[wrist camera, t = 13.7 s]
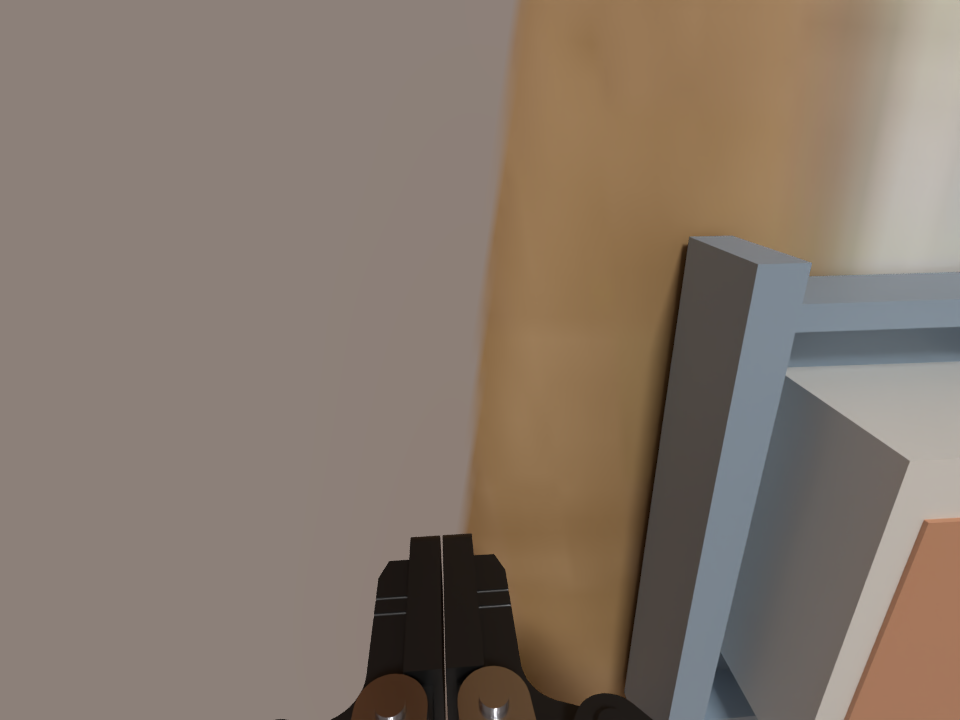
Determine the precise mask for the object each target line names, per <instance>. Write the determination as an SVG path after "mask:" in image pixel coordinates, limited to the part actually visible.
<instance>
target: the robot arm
mask: <svg viewBox="0 0 960 720" xmlns="http://www.w3.org/2000/svg"><path fill="white" fill-rule="evenodd" d="M443 571H444V617H445V661H446V685H447V706H448V720H653V719H651V718H650V717H649V716H648V715H647V714H645V713H644V712H643V711H642V710H641V709H639V708H638V707H637V706H636V705H634V704H633V703H632V702H630V701H629V700H627V699H625V698H623V697H621V696H618V695H614V694H607V693H602V694H596V695H593V696H591V697H589V698H587V699H586V700H585V701H584V702H582V704H581V705H580V706H576V705H573V704H569V703H565V702H561V701H557V700H554V699H551V698H549V697H547V696H545V695H543V694H541V693H540V692H538V691H537V690H536V689H535V688H534V687H533V686H532V685H531V684H530V683H529V681H528V680H527V678H526V677H525V675H524V673H523V670H522V667H521V663H520V657H519V651H518V644H517V638H516V632H515V626H514V620H513V614H512V608H511V602H510V596H509V592H508V584H507V578H506V572H505V569H504V567H503V566H502V565H501V563H500V562H499V560H498V559H497V558H496V556H495V555H494V554H490V555H474V553H473V543H472V534H456V535H443ZM278 720H285V719H278ZM331 720H446V715H445V668H444V621H443V585H442V564H441V544H440V536H426V537H411V542H410V558H409V560H401V561H389V563H388V564H387V566H386V567H385V569H384V570H383V572H382V574H381V575H380V577H379V579H378V587H377V595H376V604H375V611H374V619H373V627H372V635H371V643H370V652H369V659H368V667H367V676H366V681H365V684H364V687H363V690H362V691H361V693H360V695H359V696H358V698H357V699H356V701H355V702H354V703H353V704H352V705H351V706H350V708H348V709H347V710H346V711H345V712H343V713H342V714H340V715H339V716H337V717H335V718H333V719H331Z"/></svg>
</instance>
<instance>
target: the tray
mask: <svg viewBox="0 0 960 720" xmlns="http://www.w3.org/2000/svg"><path fill="white" fill-rule="evenodd" d="M811 265H812V263H811V262H808V261H805V260H802V259H799V258H796V257H793V256H790V255H787V254H784V253H781V252H778V251H775V250H772V249H770V248H767V247H764V246H761V245H758V244H755V243H752V242H749V241H746V240H743V239H740V238H737V237H734V236H701V237H689V243H688V250H687V257H686V264H685V271H684V278H683V285H682V292H681V299H680V306H679V313H678V320H677V327H676V334H675V341H674V348H673V355H672V362H671V369H670V376H669V383H668V390H667V397H666V404H665V411H664V418H663V425H662V432H661V439H660V446H659V453H658V460H657V467H656V474H655V481H654V488H653V495H652V502H651V509H650V516H649V523H648V530H647V537H646V544H645V551H644V558H643V565H642V572H641V579H640V586H639V593H638V600H637V607H636V614H635V621H634V628H633V635H632V642H631V649H630V656H629V663H628V670H627V677H626V684H625V691H624V693H625V696H626V699H627V700H629V701H630V702H632V703H633V704H634V705H636V706H637V707H638V708H639V709H641V710H642V711H643V712H644V713H645V714H647V715H648V716H649V717H650V718H651V719H653V720H758V719H757V717H756V715H755V713H754V712H753V710H752V708H751V706H750V704H749V703H748V701H747V699H746V697H745V695H744V694H743V692H742V690H741V688H740V686H739V684H738V683H737V681H736V679H735V677H734V675H733V674H732V672H731V670H730V668H729V666H728V665H727V663H726V661H725V659H724V657H723V655H722V654H721V652H720V651H721V647H722V642H723V638H724V634H725V630H726V625H727V621H728V617H729V613H730V608H731V604H732V600H733V596H734V591H735V587H736V583H737V579H738V575H739V570H740V566H741V562H742V558H743V553H744V549H745V545H746V541H747V536H748V532H749V528H750V524H751V519H752V515H753V511H754V507H755V502H756V498H757V494H758V490H759V485H760V481H761V477H762V473H763V468H764V464H765V460H766V456H767V452H768V447H769V443H770V439H771V435H772V430H773V426H774V422H775V418H776V413H777V409H778V405H779V401H780V396H781V392H782V388H783V384H784V379H785V375H786V371H787V367H812V366H841V365H870V364H899V363H928V362H957V361H960V272H947V273H912V274H878V275H843V276H809V273H810V269H811Z"/></svg>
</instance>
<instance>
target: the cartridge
mask: <svg viewBox="0 0 960 720" xmlns="http://www.w3.org/2000/svg"><path fill="white" fill-rule="evenodd" d="M720 652H721V654H722V655H723V657H724V659H725V661H726V663H727V665H728V666H729V668H730V670H731V672H732V674H733V675H734V677H735V679H736V681H737V683H738V684H739V686H740V688H741V690H742V692H743V694H744V695H745V697H746V699H747V701H748V703H749V704H750V706H751V708H752V710H753V712H754V713H755V715H756V717H757V719H758V720H960V361H957V362H928V363H899V364H870V365H841V366H812V367H787V371H786V375H785V379H784V384H783V388H782V392H781V396H780V401H779V405H778V409H777V413H776V418H775V422H774V426H773V430H772V435H771V439H770V443H769V447H768V452H767V456H766V460H765V464H764V468H763V473H762V477H761V481H760V485H759V490H758V494H757V498H756V502H755V507H754V511H753V515H752V519H751V524H750V528H749V532H748V536H747V541H746V545H745V549H744V553H743V558H742V562H741V566H740V570H739V575H738V579H737V583H736V587H735V591H734V596H733V600H732V604H731V608H730V613H729V617H728V621H727V625H726V630H725V634H724V638H723V642H722V647H721V651H720Z"/></svg>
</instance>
